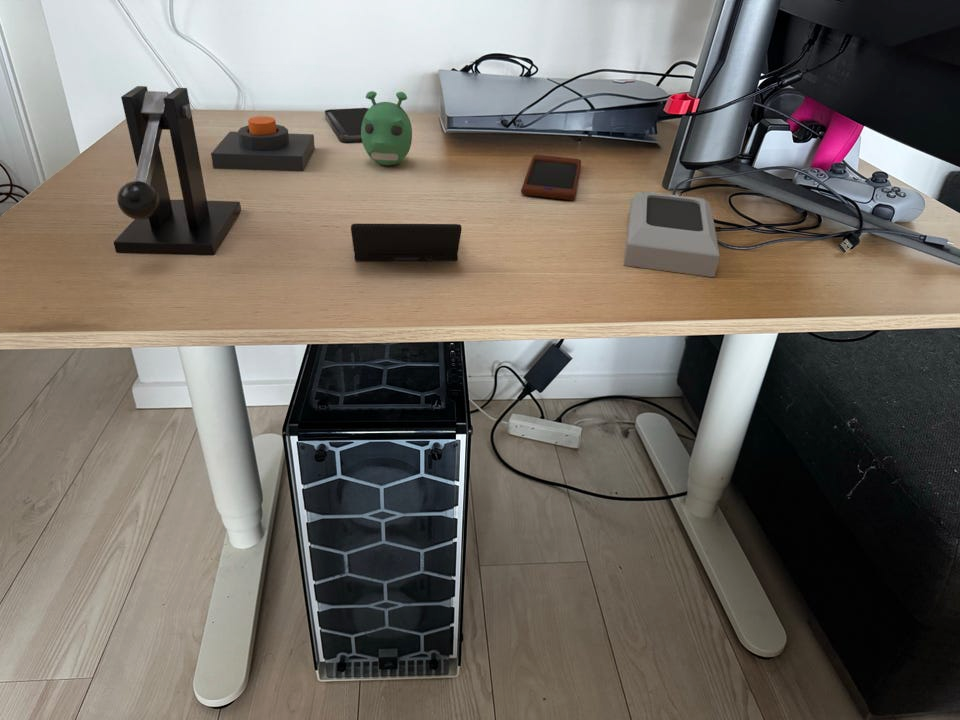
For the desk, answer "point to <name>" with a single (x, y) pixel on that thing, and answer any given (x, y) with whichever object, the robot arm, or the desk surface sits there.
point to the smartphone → (552, 177)
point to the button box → (264, 151)
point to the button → (262, 125)
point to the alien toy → (386, 131)
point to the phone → (346, 123)
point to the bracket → (194, 217)
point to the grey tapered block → (671, 234)
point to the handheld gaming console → (406, 242)
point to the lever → (146, 161)
